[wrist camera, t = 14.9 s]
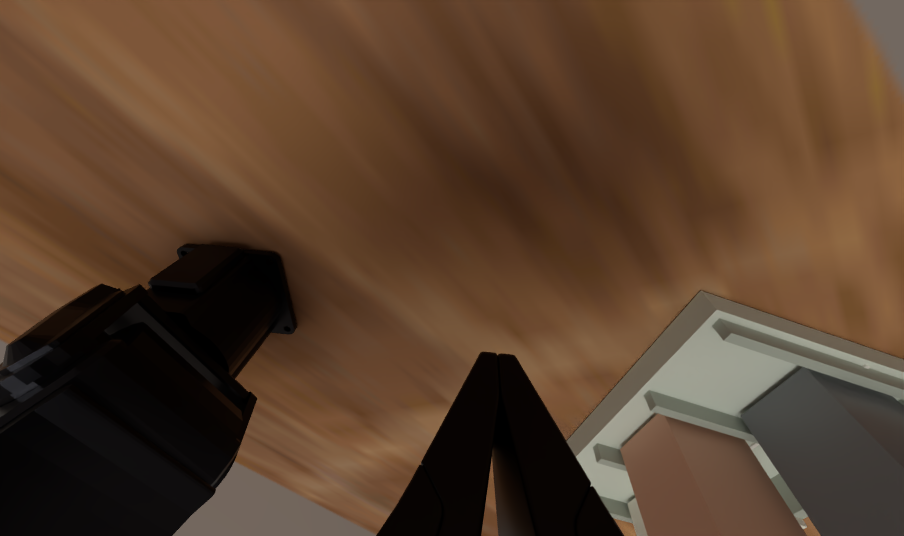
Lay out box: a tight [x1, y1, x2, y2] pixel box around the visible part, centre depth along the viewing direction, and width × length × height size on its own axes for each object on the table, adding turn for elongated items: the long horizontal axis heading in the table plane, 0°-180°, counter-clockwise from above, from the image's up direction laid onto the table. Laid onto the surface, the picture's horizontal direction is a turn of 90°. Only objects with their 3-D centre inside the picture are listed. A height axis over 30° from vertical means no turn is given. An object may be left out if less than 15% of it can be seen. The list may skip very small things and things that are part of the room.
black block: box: [741, 367, 904, 536], centre depth 19 cm, size 6×5×8 cm
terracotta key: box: [620, 414, 807, 536], centre depth 22 cm, size 6×5×8 cm
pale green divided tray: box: [567, 291, 904, 529], centre depth 25 cm, size 15×21×5 cm
